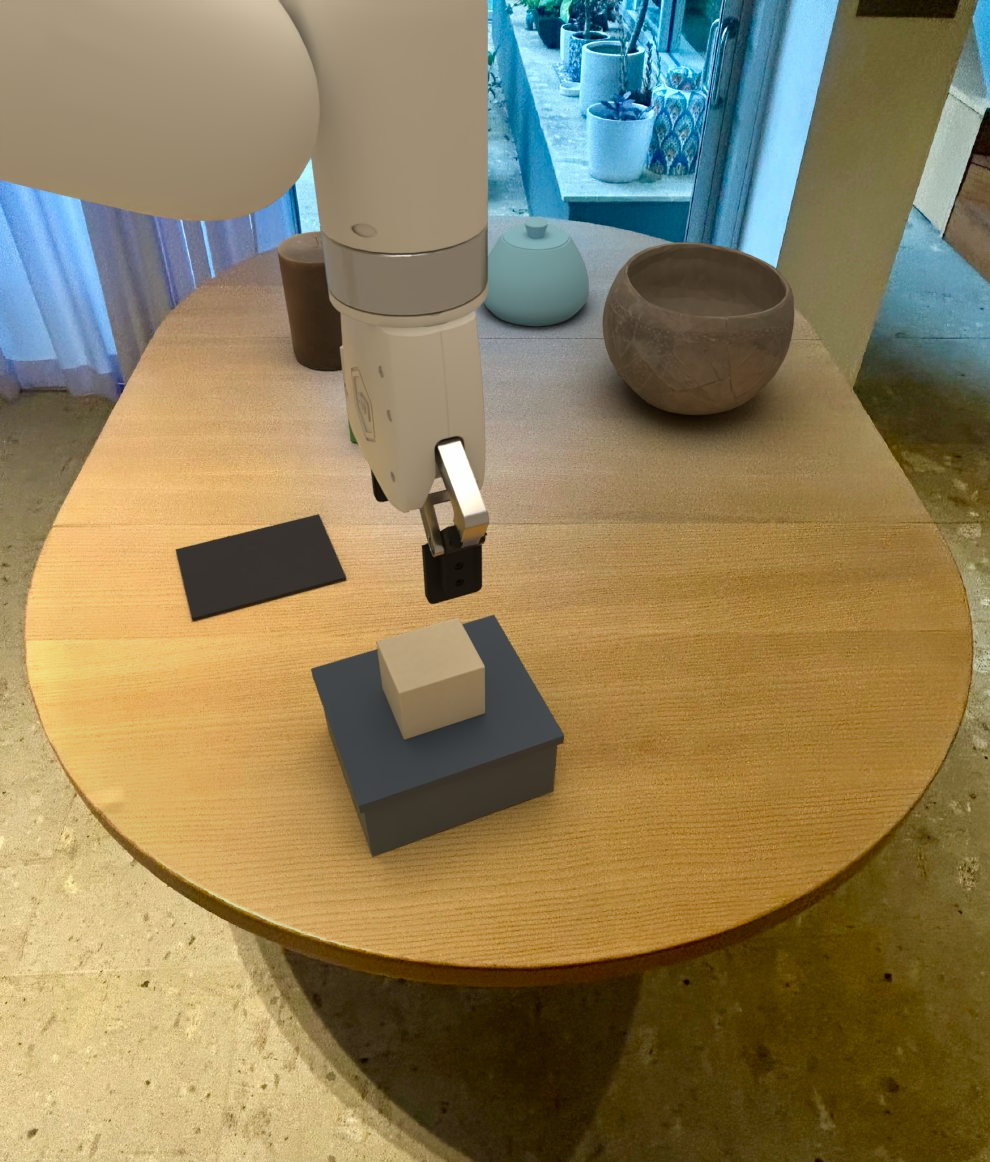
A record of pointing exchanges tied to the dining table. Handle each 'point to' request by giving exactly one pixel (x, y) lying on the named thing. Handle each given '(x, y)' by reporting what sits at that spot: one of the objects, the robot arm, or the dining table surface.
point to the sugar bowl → (536, 275)
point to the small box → (432, 677)
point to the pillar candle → (310, 302)
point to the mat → (258, 566)
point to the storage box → (439, 746)
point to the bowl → (697, 326)
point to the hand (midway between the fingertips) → (425, 541)
